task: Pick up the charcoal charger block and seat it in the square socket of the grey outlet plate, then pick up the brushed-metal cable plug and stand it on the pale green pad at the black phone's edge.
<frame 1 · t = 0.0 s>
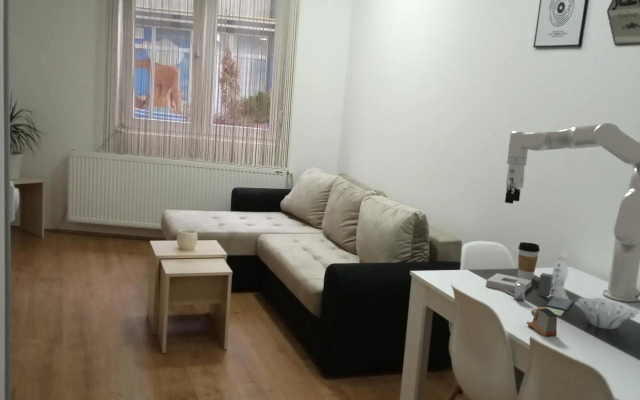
hand: (512, 201, 247), 31 cm above the table, fingers open, 9 cm apart
pad: (553, 311, 205), on the table
coffee cup: (525, 278, 247), on the table
plug: (518, 300, 216), on the table
charger: (544, 295, 224), on the table
electronic device: (540, 331, 185), on the table
phone: (559, 305, 214), on the table
cable: (508, 294, 223), on the table
outlet plate: (508, 286, 233), on the table
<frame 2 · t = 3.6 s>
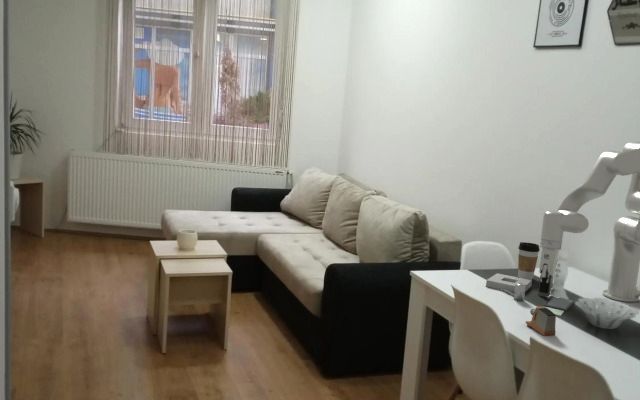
hand: (545, 290, 224), 2 cm above the table, fingers closed on charger, 4 cm apart
charger: (544, 295, 224), on the table, touching gripper
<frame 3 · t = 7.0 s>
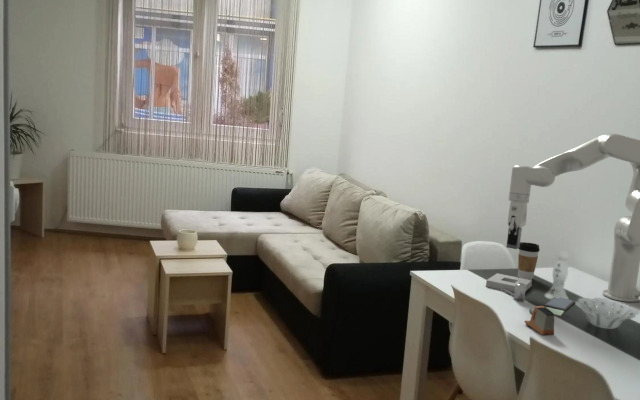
hand: (513, 243, 231), 17 cm above the table, fingers closed on charger, 4 cm apart
charger: (512, 247, 231), point 16 cm above the table, touching gripper
when the fingers open (3 cm above the table, at t = 10.3 s): charger drops 2 cm, resting in outlet plate.
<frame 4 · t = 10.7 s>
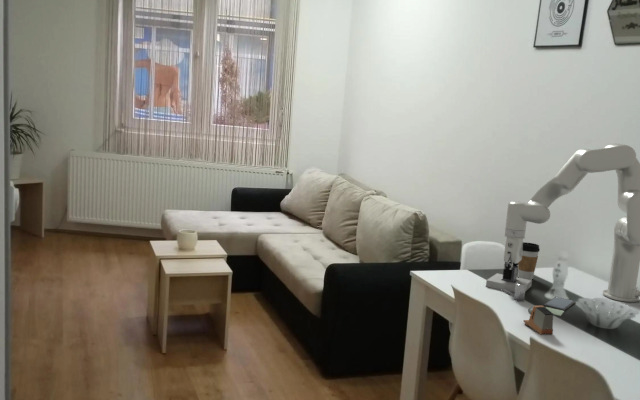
hand: (509, 276, 233), 4 cm above the table, fingers open, 7 cm apart
charger: (508, 286, 233), resting in outlet plate
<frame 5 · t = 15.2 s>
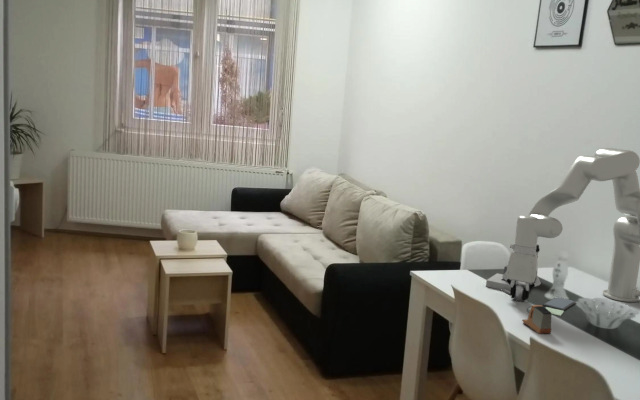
hand: (519, 298, 215), 1 cm above the table, fingers closed on plug, 3 cm apart
plug: (518, 300, 216), on the table, touching gripper
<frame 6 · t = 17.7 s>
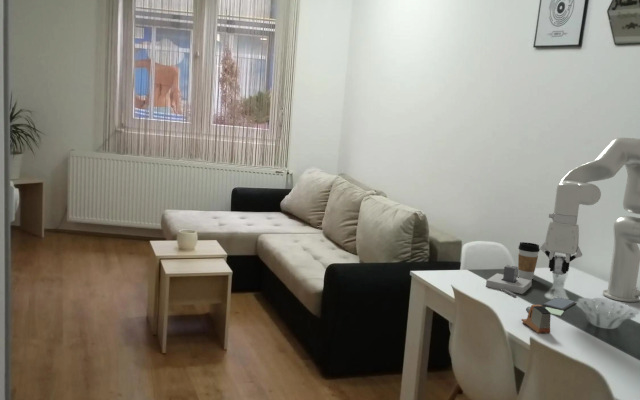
hand: (558, 271, 202), 14 cm above the table, fingers closed on plug, 3 cm apart
plug: (557, 273, 202), point 14 cm above the table, touching gripper
when the fingers open (2 cm above the table, at t = 20.1 s): plug drops 1 cm, resting on pad.
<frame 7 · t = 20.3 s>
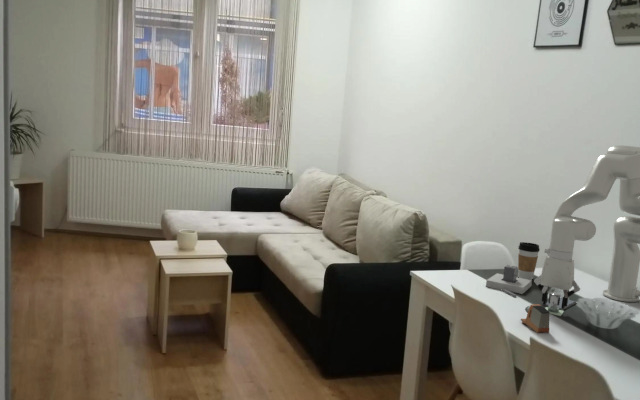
hand: (554, 305, 204), 2 cm above the table, fingers open, 5 cm apart
plug: (553, 310, 204), resting on pad
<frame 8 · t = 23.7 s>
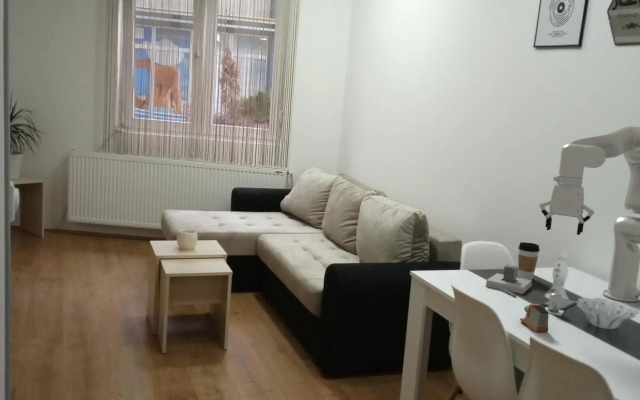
hand: (563, 231, 200), 28 cm above the table, fingers open, 9 cm apart
at the end: charger 0.0 cm off-centre on the outlet plate, point 0.0 cm above the outlet plate's base; plug 0.0 cm from the pad (horizontally); plug tilted 2° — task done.
